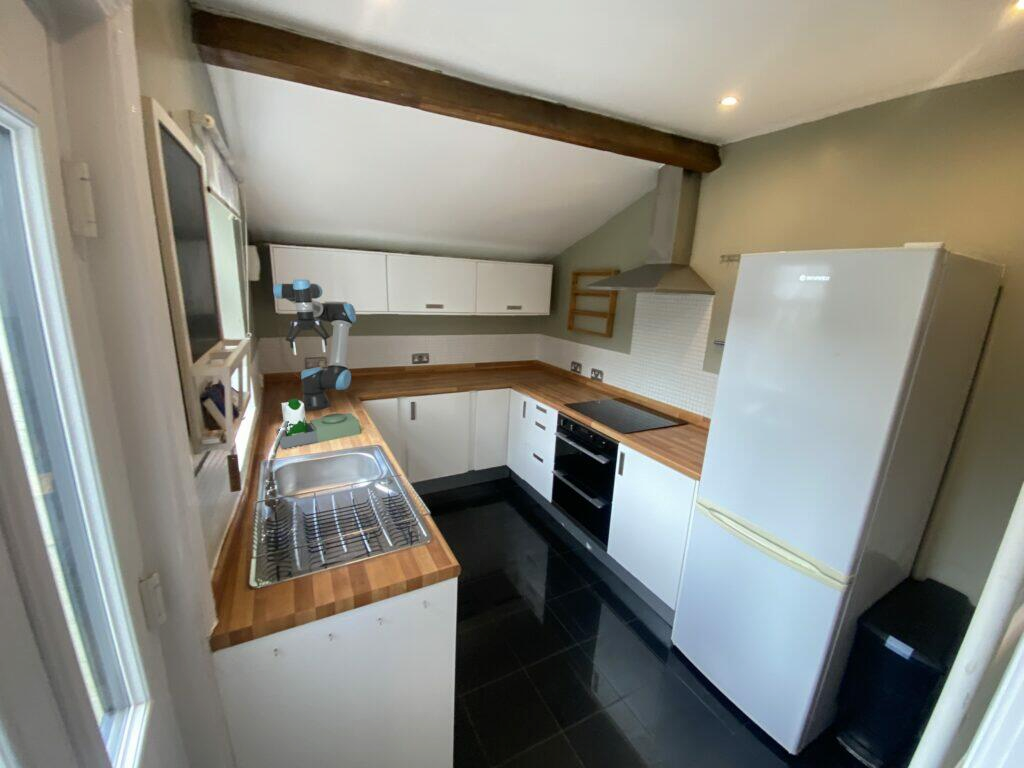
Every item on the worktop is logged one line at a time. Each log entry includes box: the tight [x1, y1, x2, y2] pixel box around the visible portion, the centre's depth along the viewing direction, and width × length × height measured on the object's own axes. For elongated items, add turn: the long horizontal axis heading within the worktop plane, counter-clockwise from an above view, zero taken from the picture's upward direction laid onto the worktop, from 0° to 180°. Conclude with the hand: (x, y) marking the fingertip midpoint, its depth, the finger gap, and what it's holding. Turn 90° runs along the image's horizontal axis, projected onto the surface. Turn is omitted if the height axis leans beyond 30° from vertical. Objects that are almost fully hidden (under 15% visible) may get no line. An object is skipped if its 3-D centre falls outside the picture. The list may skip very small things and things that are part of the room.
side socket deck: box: [275, 412, 361, 450], centre depth 192 cm, size 34×15×9 cm, turn 127°
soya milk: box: [280, 398, 308, 436], centre depth 185 cm, size 9×9×20 cm
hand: (309, 353), depth 206 cm, fingers open, 13 cm apart
